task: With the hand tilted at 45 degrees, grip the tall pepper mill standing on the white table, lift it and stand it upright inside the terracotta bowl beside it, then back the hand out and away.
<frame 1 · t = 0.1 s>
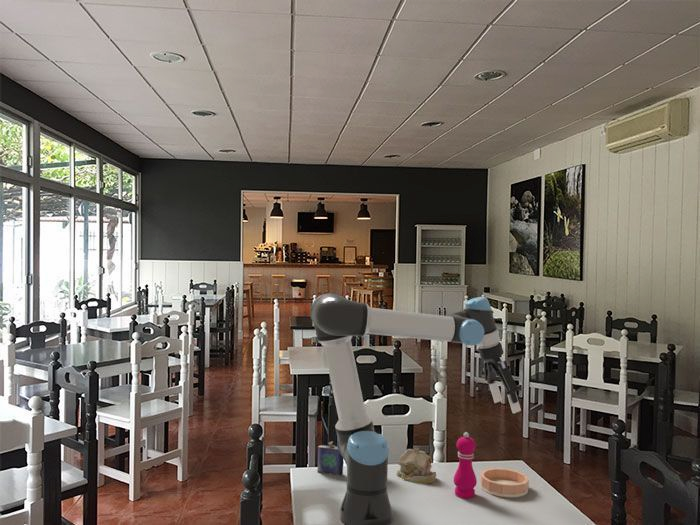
hand: (507, 406, 195), 28 cm above the table, tool tilted 20°, fingers open, 13 cm apart
pepper mill: (464, 495, 193), on the table
terracotta bowl: (504, 488, 198), on the table
ceramic model: (416, 477, 208), on the table
mortar and pestle: (366, 477, 206), on the table
flask: (330, 473, 209), on the table
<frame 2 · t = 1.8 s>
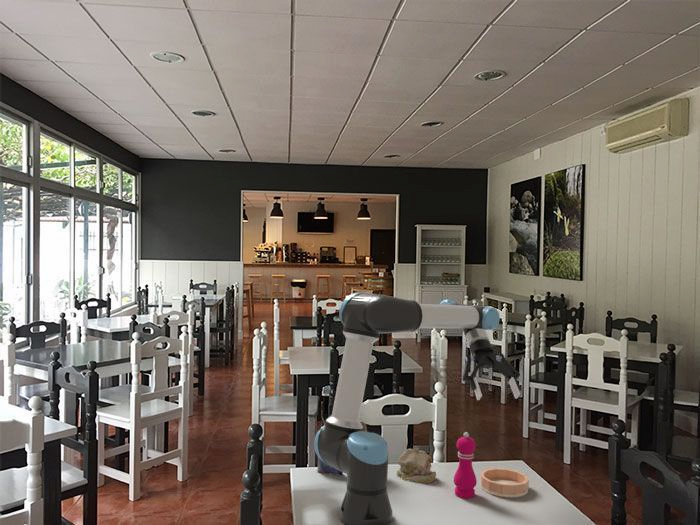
hand: (498, 397, 197), 30 cm above the table, tool tilted 45°, fingers open, 13 cm apart
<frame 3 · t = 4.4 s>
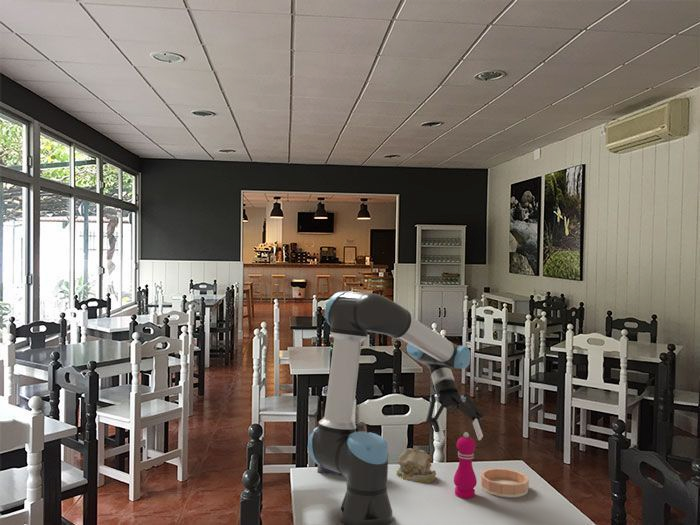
hand: (461, 439, 198), 16 cm above the table, tool tilted 45°, fingers open, 13 cm apart
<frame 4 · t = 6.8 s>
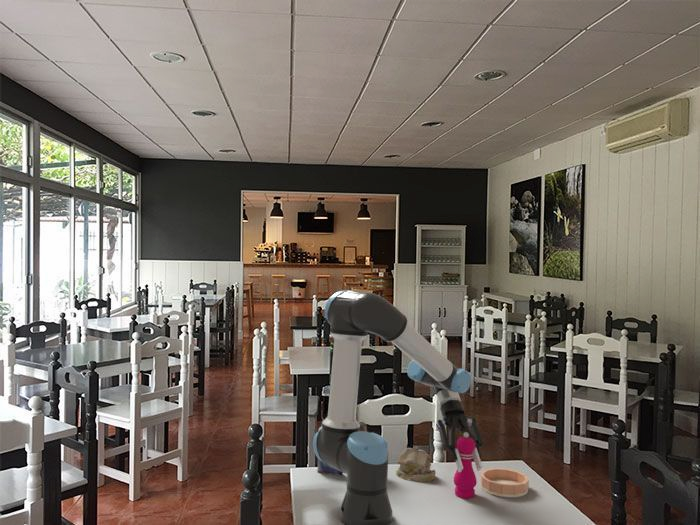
hand: (470, 469, 189), 9 cm above the table, tool tilted 45°, fingers closed on pepper mill, 6 cm apart
pepper mill: (464, 495, 193), on the table, touching gripper
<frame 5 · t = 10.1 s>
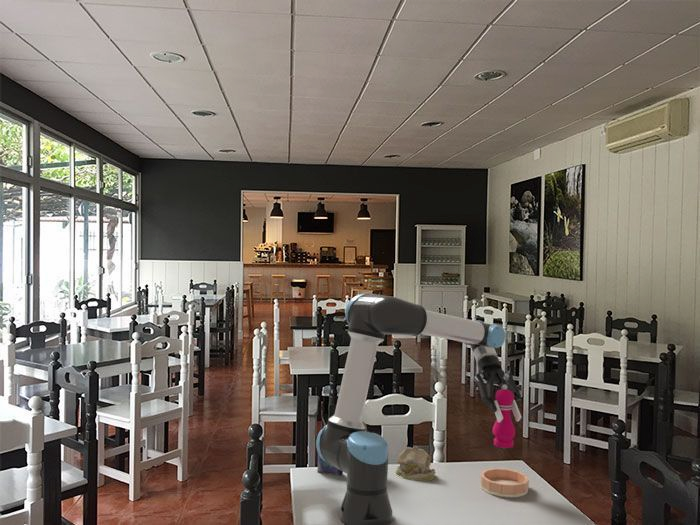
hand: (509, 419, 195), 24 cm above the table, tool tilted 45°, fingers closed on pepper mill, 6 cm apart
pepper mill: (503, 445, 198), point 14 cm above the table, touching gripper
when the fingers open (12 cm above the table, at t = 13.3 s): pepper mill drops 1 cm, resting on terracotta bowl.
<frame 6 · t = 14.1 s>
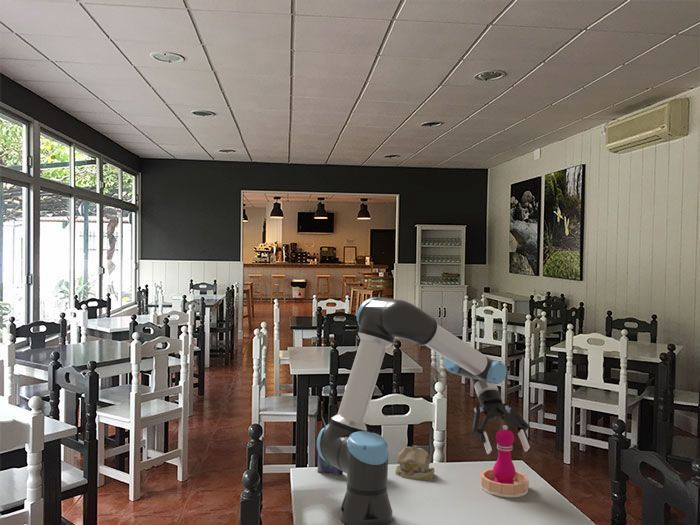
hand: (508, 451, 196), 13 cm above the table, tool tilted 45°, fingers open, 13 cm apart
pepper mill: (504, 485, 199), point 1 cm above the table, touching terracotta bowl
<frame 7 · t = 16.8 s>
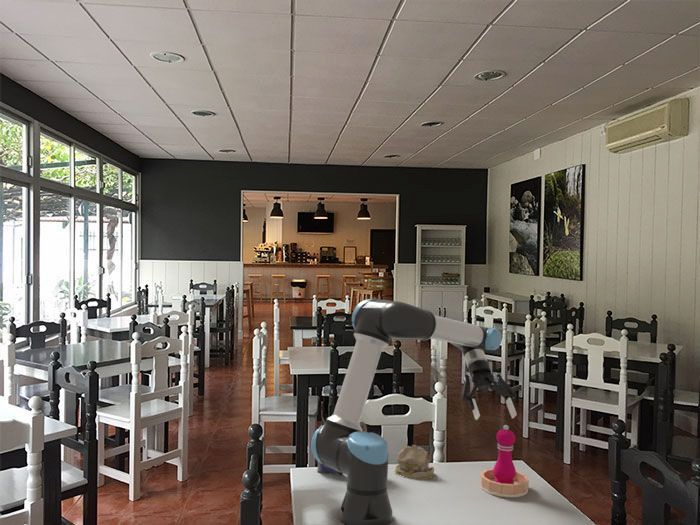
hand: (496, 417, 204), 22 cm above the table, tool tilted 45°, fingers open, 13 cm apart
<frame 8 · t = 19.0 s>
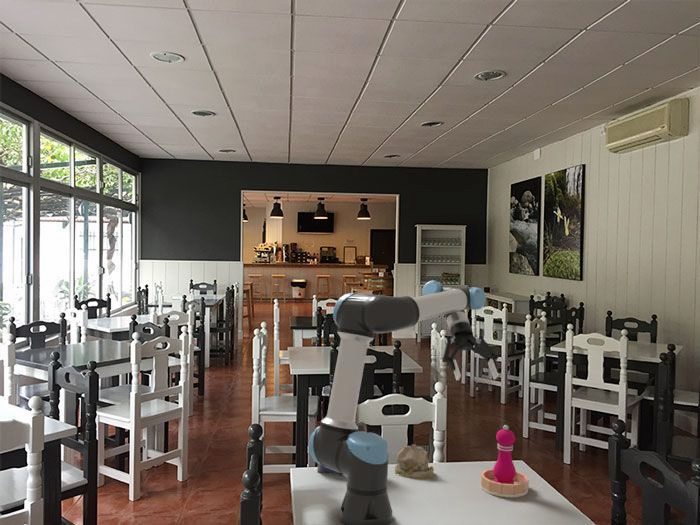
hand: (477, 377, 201), 36 cm above the table, tool tilted 45°, fingers open, 13 cm apart
at the end: pepper mill inside the target area on the terracotta bowl (0.0 cm from its centre), point 0.8 cm above the terracotta bowl's base; pepper mill tilted 0°; the gripper is holding nothing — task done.
